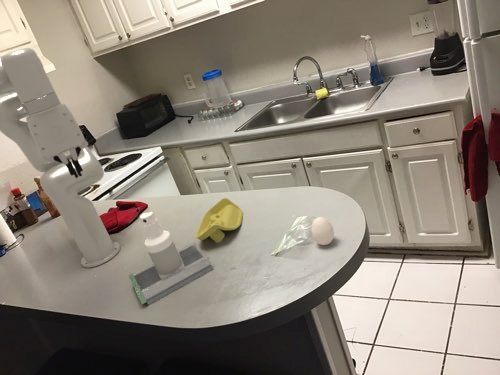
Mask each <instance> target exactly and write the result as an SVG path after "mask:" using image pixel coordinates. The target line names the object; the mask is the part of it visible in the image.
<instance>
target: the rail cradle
mask: <svg viewBox="0 0 500 375" xmlns="http://www.w3.org/2000/svg"><path fill="white" fill-rule="evenodd" d="M178 252H179V255H180V257H181V259H182V261H183V264H184V266H185V267H184V268H182V269H180V270H178V271H177V272H175V273H173V274H171V275H169V276H167V277H165V278H164V279H161V278H160V276H159V274H158V272H157V270H156V268H155V266H154V264H153V263H152V264H150V265H148V266H147V267H144V268H142V269H141V270H139V271H136V272H135V273H131V274H129V275H128V278H129V280H130V282H131V285H132V287H133V289H134V291H135V293H136V294H137V298H138V299H139V301H140V303H141V305H144V304H146V303H147V305H148V306H150V305H152V304H154V303H155V302H157V301H158V300H159V301H160V299H162V298H164V297H166V296H168V295H169V294H171V293H173V292H175V291H177V290H178V289H180V288H181V287H184V286H185V285H187V284H189V283H191V282H192V281H194V280H197V279H199V278H200V277H201V276H203V275H206V274H207V273H210V271H213V270H214V268H213V267H214V266H213V265H212V263H211V261H210V259H209V256H208V255H205V256H203V254H202V253H201V252H200V251H199V248H198V246H197V244H196V243H195V242H192V243H191V244H188V245H187V246H186V245H185V246H184V247H183V248H181V249H178Z"/></svg>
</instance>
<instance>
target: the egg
mask: <svg viewBox="0 0 500 375" xmlns="http://www.w3.org/2000/svg"><path fill="white" fill-rule="evenodd" d="M310 229H311V236H312V238H313V240H314V241H315V242H316V243H317V244H319V245H321V246H328V245H329V244H330V243H332V241H333V240H334V237H335V230H334V228H333V224H332V223H331V222H330V221H329V219H327V218H325V217H323V216H318V217H316V218H314V220H313V222H312V224H311V228H310Z"/></svg>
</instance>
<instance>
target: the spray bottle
mask: <svg viewBox="0 0 500 375" xmlns="http://www.w3.org/2000/svg"><path fill="white" fill-rule="evenodd" d="M139 219H140V221H141V226H142V228H143V230H144V232H145V233H144V234H145V235H146V237H147V238H146V239H145V241H144V247H145V249H146V251H147V253H148V255H149V257H150V259H151V261H152V264H154V266H155V268H156V270H157V272H158V274H159V276H160V278H161V279H164V278H165V277H167V276H169V275H171V274H173V273H175V272H177V271H178V270H180V269H182V268H184V267H185V266H184V264H183V261H182V259H181V257H180V255H179V252H178V251H179V249H178V248H177V245H176V243H175V241H174V239H173V237H172V235H171V232H170V231H168V230H163V228H162V226H161V224H160V222H159V220H158V218H157V217H156V216H155V214H154V212H153V211H150V212H143V213H142V214H141V215H139Z"/></svg>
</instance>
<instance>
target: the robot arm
mask: <svg viewBox="0 0 500 375" xmlns="http://www.w3.org/2000/svg"><path fill="white" fill-rule="evenodd" d="M22 119H25V120H26V121H24V120H22ZM0 133H2V134H3V135H4V136H6V137H7V138H8V139H10V140H11V141H13V142H14V143H15V144H16V145H17V146H18V147H19V149H20V150H21V151H22V153H23V155H24V156H25V157H26V159H27V160H28V162H29V163H30V164H31V166H32V167H33V168H34V169H35V170H36V171H37V172H39V173H43V174H42V175H41V176H40V179H39V184H40V186H41V189H42V190H43V192H44V193H45V194H46V196H47V197H48V198H49V199H50V201H51V202H52V203H53V205H54V207H55V208H56V209H57V212H58V213H59V215H60V216H61V219H62V220H63V222H64V223H65V225H66V227H67V228H68V230H69V233H70V234H71V236H72V238H73V240H74V242H75V243H76V245H77V247H78V248H79V250H80V253H81V255H82V258H81V260H80V264H81V266H82V267H83V268H96V267H99V266H101V265H102V264H104V263H106V262H108V261H110V260H111V259H113V258H114V257H115V256H117V255H118V253H119V252H120V251H121V245H120V243H119V242H118V241H112V238H111V236H110V235H109V232H108V231H107V229H106V227H105V225H104V223H103V220H102V219H101V217H100V215H99V213H98V211H97V209H96V207H95V205H94V204H93V203H94V202H92V200H90V199H89V198H88V197H85V196H83V195H80V194H79V193H80V192H81V191H83V190H85V189H87V188H89V187H91V186H92V185H94V184H96V183H99V182H100V181H101V180H102V179H103V177H104V175H105V170H104V168H103V166H102V164H101V163H100V161H99V160H98V158H97V157H96V156H95V155H94V153H93V152H92V151H91V149H90V148H89V147H88V146H89V142H88V141H87V140H86V138H85V137H84V134H83V132H82V130H81V128H80V127H79V123H77V121H76V119H75V117H74V115H73V113H72V112H71V111H70V109H69V107H68V106H67V105H66V104H65V103H61V101H60V99H59V97H58V95H57V93H56V91H55V88H54V87H53V85H52V82H51V81H50V79H49V77H48V74H47V73H46V70H45V68H44V65H43V62H42V61H41V59H40V57H39V56H38V54H37V52H36V51H35V50H34V49H33V48H30V47H26V48H21V49H18V50H14V51H12V52H9V53H7V54H4V55H1V56H0Z"/></svg>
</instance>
